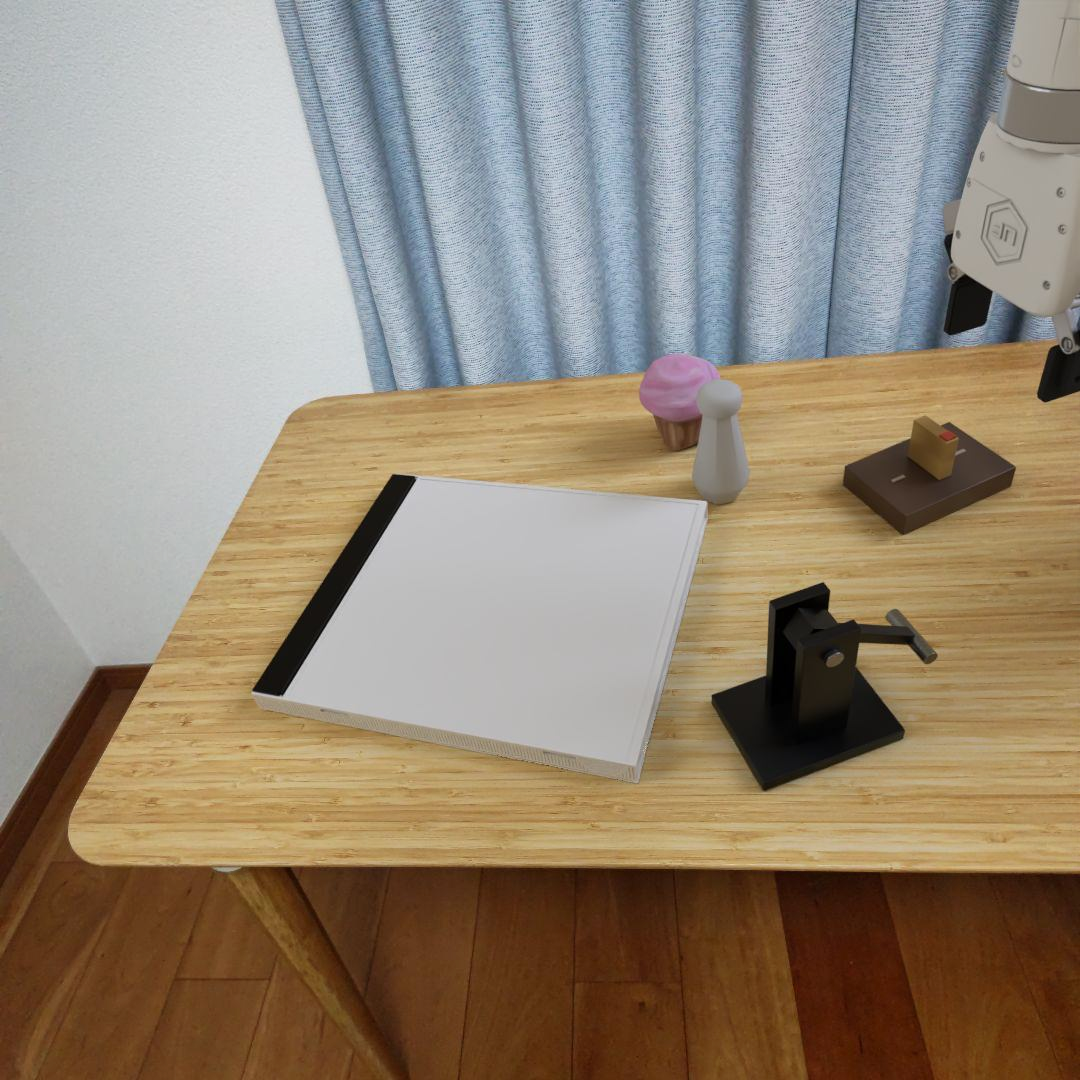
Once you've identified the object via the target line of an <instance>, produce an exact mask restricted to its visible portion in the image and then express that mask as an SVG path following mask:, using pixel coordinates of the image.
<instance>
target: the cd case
mask: <svg viewBox="0 0 1080 1080" xmlns="http://www.w3.org/2000/svg"><path fill="white" fill-rule="evenodd" d="M708 513H709V511H708V501H707V500H699V499H687V498H686V499H685V498H676V497H674V498H673V497H665V496H664V497H663V496H652V495H644V494H643V495H642V494H633V493H632V494H630V493H621V492H610V491H609V492H608V491H597V490H586V489H573V488H563V487H554V486H553V487H552V486H543V485H532V484H531V485H530V484H518V483H507V482H496V481H485V480H474V479H465V478H453V477H452V478H451V477H450V478H449V477H441V476H430V475H418V474H405V473H397V472H396V473H395V472H394V473H391V475H390V477H389V479H388V480H387V482H386V483H385V485H384V487H383V488H382V490H381V491H380V493H379V494H378V496H376V499H375V500H374V502H373V504H372V505H371V506H370V508H369V510H368V511H367V512H366V514H365V516H364V517H363V519H362V520H361V522H360V523H359V525H358V527H357V528H356V529H355V531H354V532H353V534H352V535H351V537H350V539H349V540H348V541H347V543H346V545H345V546H344V547H343V550H342V551H341V553H340V554H339V556H338V557H337V559H336V560H335V562H334V563H333V565H332V567H331V568H330V569H329V571H328V573H327V574H326V576H325V577H324V578H323V580H322V581H321V583H320V585H319V586H318V588H317V590H316V591H315V592H314V594H313V596H312V597H311V598H310V600H309V602H308V603H307V605H306V607H305V608H304V610H303V611H302V612H301V614H300V616H299V617H298V619H297V620H296V622H295V623H294V624H293V626H292V628H291V630H290V631H289V632H288V634H287V636H286V637H285V639H284V640H283V641H282V643H281V645H280V646H279V648H278V649H277V651H276V652H275V654H274V655H273V657H272V658H271V660H270V661H269V662H268V664H267V666H266V668H265V669H264V671H263V672H262V674H261V675H260V677H259V678H258V680H257V682H256V683H255V684H254V686H253V688H252V690H251V693H250V694H251V696H252V698H253V700H254V702H255V703H256V704H257V706H258V707H259V708H260V709H261V710H265V711H270V712H276V713H281V714H285V715H289V716H294V717H300V718H305V719H309V720H315V721H320V722H325V723H331V724H334V725H341V726H345V727H350V728H355V729H360V730H365V731H370V732H375V733H380V734H385V735H390V736H395V737H401V738H405V739H411V740H416V741H421V742H426V743H431V744H436V745H441V746H446V747H451V748H455V749H461V750H466V751H473V752H476V753H481V754H487V755H491V754H492V756H497V755H498V756H497V757H501V756H502V757H501V758H506V757H507V759H512V760H516V759H517V761H521V760H524V761H523V762H526V761H528V763H531V762H535V763H534V764H536V763H539V764H538V765H541V764H546V765H549V766H548V767H551V766H553V767H552V768H556V767H558V768H557V769H561V768H563V769H562V770H567V769H568V770H567V771H571V772H577V773H582V774H587V773H588V774H587V775H593V776H597V777H602V778H608V779H612V780H617V779H618V781H622V780H623V781H622V782H627V783H631V784H637V783H638V784H639V781H640V778H641V774H642V770H643V767H642V766H644V763H645V759H644V758H646V755H647V751H648V748H649V744H648V743H646V742H649V743H650V740H649V738H650V739H651V737H652V736H651V735H652V733H651V731H652V732H653V729H654V725H655V721H656V717H657V714H656V712H657V713H658V711H659V710H658V709H659V706H660V702H661V698H662V695H661V694H663V691H664V687H665V683H666V680H667V676H668V672H669V668H670V664H671V661H672V656H673V653H674V648H675V645H676V641H677V638H678V634H679V630H680V627H681V623H682V619H683V615H684V611H685V607H686V604H687V601H688V600H687V599H688V596H689V592H690V588H691V585H692V580H693V577H694V573H695V570H696V566H697V562H698V558H699V554H700V551H701V547H702V543H703V540H704V535H705V532H706V528H707V524H708V521H709V516H708V515H709V514H708ZM662 690H663V691H662ZM659 701H660V702H659ZM658 705H659V706H658ZM655 716H656V717H655ZM654 720H655V721H654ZM653 724H654V725H653ZM652 728H653V729H652ZM647 744H648V745H647ZM645 746H646V747H645ZM647 747H648V748H647ZM645 748H647V749H645ZM643 750H644V751H643ZM646 750H647V751H646ZM644 752H646V753H644ZM645 754H646V755H645ZM546 765H545V766H546ZM554 766H555V767H554Z"/></svg>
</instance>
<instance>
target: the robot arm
mask: <svg viewBox="0 0 1080 1080" xmlns="http://www.w3.org/2000/svg"><path fill="white" fill-rule="evenodd" d="M1001 80H1002V82H1003V83H1002V89H1001V95H1000V99H999V106H998V110H997V112H996V113H994V114H993V115H991V116H990V117H989V118H988V120H987V122H986V125H985V126H984V129H983V131H982V134H981V136H980V138H979V141H978V144H977V146H976V149H975V151H974V154H973V157H972V160H971V163H970V166H969V170H968V172H967V177H966V180H965V183H964V186H963V191H962V195H961V198H960V199H956V200H952V201H949V202H946V203H944V204H943V205H942V209H941V213H942V220H943V226H944V233H945V234H946V235H945V237H944V240H943V245H944V248H945V251H946V254H947V257H948V259H949V262H950V264H949V265H948V267H947V270H946V275H947V278H948V279H949V280H950V281H951V282H953V283H951V286H950V291H949V297H948V303H947V308H946V314H945V320H944V325H943V332H944V333H945V334H946V335H948V336H955V335H959V334H962V333H964V332H965V333H966V332H969V331H971V330H974V329H978V328H981V327H983V326H985V325H986V324H987V321H988V316H989V312H990V308H991V303H992V299H993V298H992V297H993V294H994V293H995V294H996V295H998V296H1000V297H1002V298H1003V299H1004V300H1006V301H1008V302H1010V303H1011V304H1013V305H1015V306H1016V307H1017V308H1019V309H1021V310H1023V311H1025V312H1026V313H1028V314H1030V315H1032V316H1034V317H1037V318H1043V319H1045V318H1046V319H1047V318H1050V317H1051V321H1052V325H1053V328H1054V331H1055V335H1056V338H1057V341H1058V344H1055V345H1053V346H1051V347H1050V348H1049V349H1048V351H1047V355H1046V359H1045V363H1044V367H1043V370H1042V374H1041V377H1040V381H1039V385H1038V388H1037V391H1036V395H1037V396H1036V398H1037V399H1038V400H1040V401H1041V402H1043V403H1045V404H1046V403H1050V402H1052V401H1056V400H1057V399H1061V398H1064V397H1067V396H1070V395H1073V394H1075V393H1079V392H1080V329H1078V325H1077V322H1076V319H1075V314H1074V311H1073V310H1075V309H1077V308H1080V0H1019V1H1018V6H1017V11H1016V17H1015V21H1014V26H1013V32H1012V37H1011V43H1010V48H1009V52H1008V59H1007V63H1006V66H1005V67H1004V70H1003V72H1002V77H1001Z"/></svg>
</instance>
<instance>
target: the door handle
mask: <svg viewBox="0 0 1080 1080" xmlns="http://www.w3.org/2000/svg"><path fill="white" fill-rule="evenodd" d="M884 617H885V620H886V621H887V622H888V624H889V625H886V624H870V623H868V624H867V623H857V624H858V625H859V626H860V627H861V635H860V642H859V644H875V645H877V644H878V645H899V646H901V645H902V646H908V647H909V648H910V649H911V650H912V652H913V653H914V654H915V655H916V656H917V658H918V659H919V660H920V661H921V662H922V663H923V664H924V665H931V664H933V663H934V662H935V661H936V660H937V659H938V657H939V654H938V653H937V652H936V650H935V649H934V648H933V646H931V645H930V644H929V642H928V641H927V640H926V639H925V638H924V637H923V636H922V634H921V633H920V632H919V631H918V630H917V629H916V628H915V627H914V626H913V625H912V623H911V622H910V621H909V620H908V619H907V618H906V616H904V614H903V613H902V612H901V611H900V609H898V608H892V609H890V610H889V611H888V612H887V613H886V614H885V616H884ZM842 623H843V622H839V621H837V620H836V618H834V616H833V615H832V614H831V612H830V611H829V609H828V610H826V609H811V608H798V609H797V611H796V612H795V614H794V615H793V617H792V618H791V620H790V621H789V623H788V624H787V626H786V627H785V629H784V630H783V633H784V634H785V636H786V637H787V638H788V640H789V641H790V643H791V644H792V645H793V647H794V648H795V649H796V651H797V640H798V639H800V638H802V637H805V636H808V635H811V634H814V633H816V632H819V631H822V630H825V629H828V628H831V627H833V626H836V625H839V624H842Z"/></svg>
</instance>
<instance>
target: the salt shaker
mask: <svg viewBox="0 0 1080 1080" xmlns="http://www.w3.org/2000/svg"><path fill="white" fill-rule="evenodd" d="M696 402H697V407H698V409H699V411H700V413H701V414H703V417H702V423H701V429H700V435H699V441H698V443H697V447H696V451H695V455H694V456H695V457H694V461H693V466H692V472H691V479H692V481H693V484H694V486H695V488H696V490H697V491H698V494H699V495H700V497H701V499H703V500H704V501H707V502H709V503H712V504H713V505H715V506H720V505H724V504H725V505H726V504H729V503H733V502H734V503H735V501H736V500H737V498H738V497H739V495H740V494H741V493H742V491H743V490H744V488H746V486H747V485H748V481H749V478H750V475H751V474H750V473H751V470H750V466H749V461H748V458H747V451H746V448H745V445H744V444H745V443H744V439H743V434H742V430H741V425H740V421H739V417H738V413H739V411H740V410H741V407H742V404H743V392H742V389H741V387H740V386H739V385H738V384H736V383H735V382H733V381H731V380H730V379H723V378H721V379H716V380H712V381H709V382H706V383H705V384H704V385H703V386H701V387H700V388H699V390H698V393H697V399H696Z"/></svg>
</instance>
